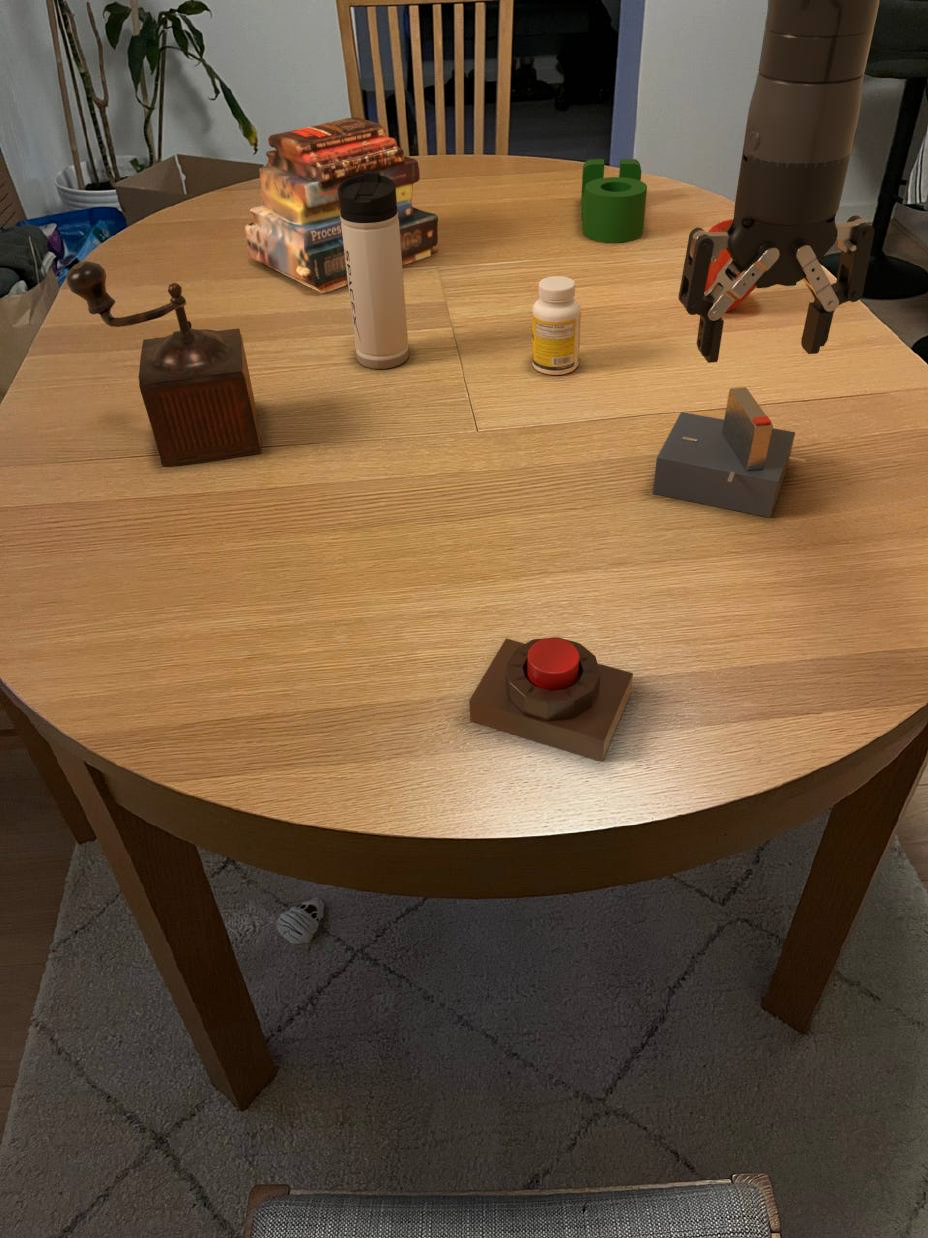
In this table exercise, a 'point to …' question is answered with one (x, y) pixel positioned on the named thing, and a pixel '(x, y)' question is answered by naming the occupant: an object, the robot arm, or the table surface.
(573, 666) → the red push button
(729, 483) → the grey slotted base
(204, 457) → the manual coffee grinder
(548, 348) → the supplement bottle
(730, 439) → the red-tipped tan bar
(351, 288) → the travel mug
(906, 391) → the table surface
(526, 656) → the button block
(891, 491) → the table surface
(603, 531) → the table surface
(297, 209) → the book
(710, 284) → the apple
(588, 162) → the slotted cylinder bracket
